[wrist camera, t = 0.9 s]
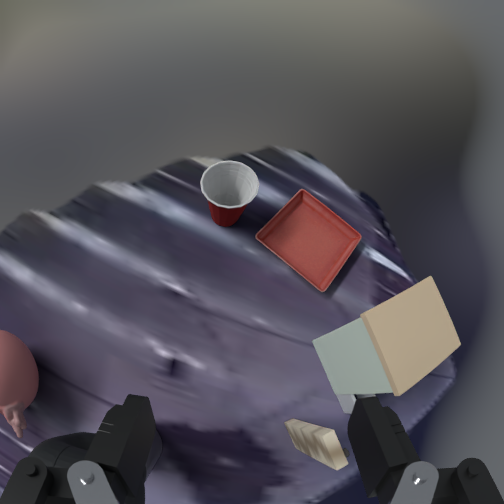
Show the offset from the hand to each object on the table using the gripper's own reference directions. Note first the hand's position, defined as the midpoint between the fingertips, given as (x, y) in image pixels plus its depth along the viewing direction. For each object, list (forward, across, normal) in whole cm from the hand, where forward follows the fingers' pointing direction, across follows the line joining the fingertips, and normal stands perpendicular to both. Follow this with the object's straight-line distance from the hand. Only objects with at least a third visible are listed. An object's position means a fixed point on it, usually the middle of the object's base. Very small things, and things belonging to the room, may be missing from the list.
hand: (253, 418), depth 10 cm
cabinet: (+39, +22, -27) cm, 52 cm away
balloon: (+24, -44, -28) cm, 58 cm away
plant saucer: (+56, +13, -6) cm, 57 cm away
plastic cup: (+56, -6, -1) cm, 56 cm away
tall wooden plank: (+28, +9, -36) cm, 46 cm away
